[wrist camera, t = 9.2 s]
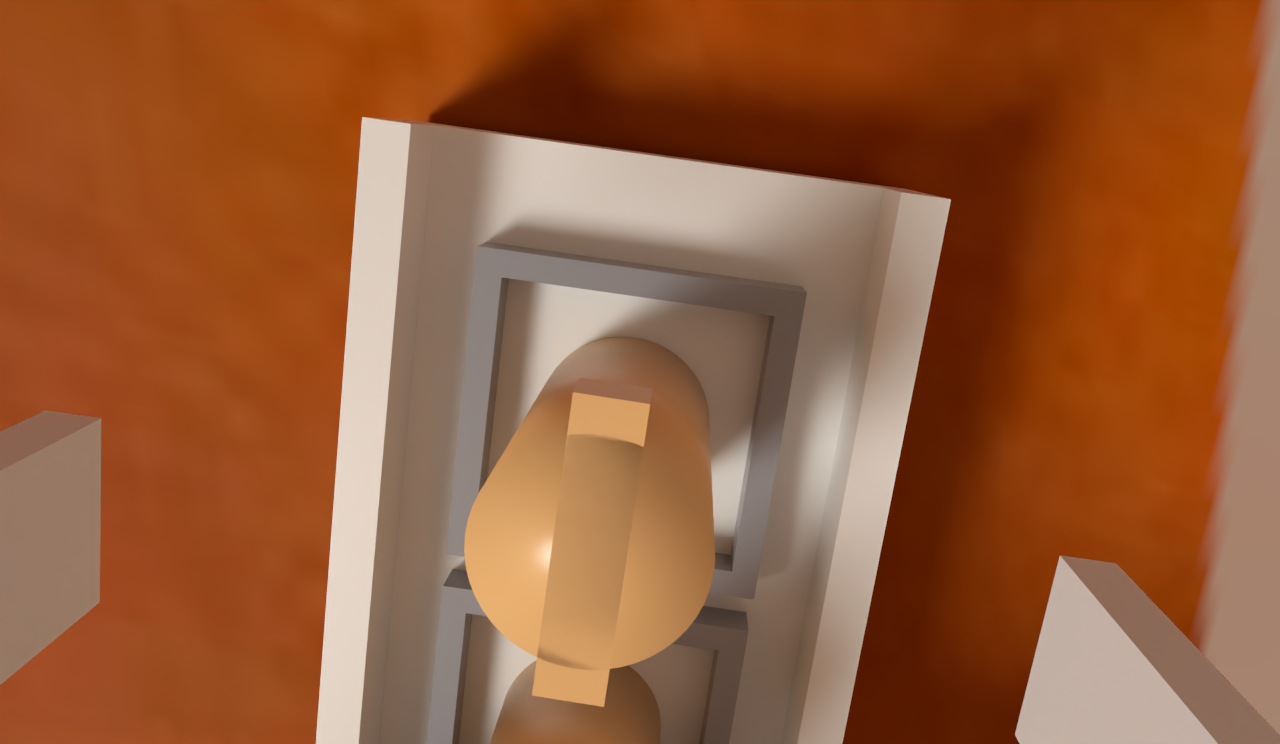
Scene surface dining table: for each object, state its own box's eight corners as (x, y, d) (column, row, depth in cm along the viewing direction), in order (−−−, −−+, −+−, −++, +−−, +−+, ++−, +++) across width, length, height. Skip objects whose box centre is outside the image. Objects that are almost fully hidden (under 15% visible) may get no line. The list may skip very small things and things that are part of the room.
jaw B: (553, 298, 24) (482, 378, 16) (726, 325, 24) (740, 418, 16) (525, 511, 25) (448, 682, 17) (691, 537, 25) (688, 720, 17)
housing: (418, 120, 26) (362, 117, 21) (906, 189, 25) (950, 199, 21) (345, 976, 31) (288, 1114, 27) (744, 1038, 31) (753, 1187, 27)
